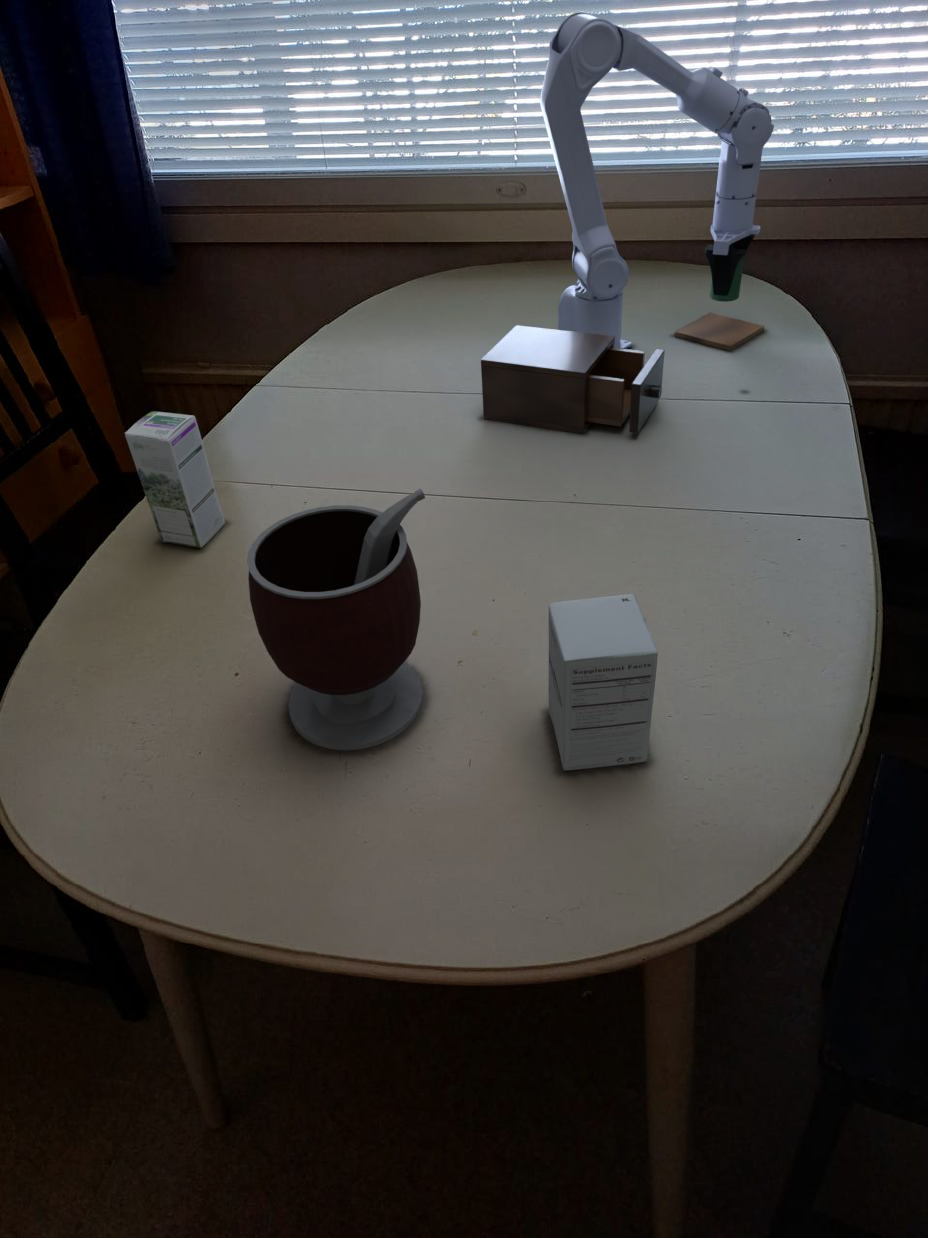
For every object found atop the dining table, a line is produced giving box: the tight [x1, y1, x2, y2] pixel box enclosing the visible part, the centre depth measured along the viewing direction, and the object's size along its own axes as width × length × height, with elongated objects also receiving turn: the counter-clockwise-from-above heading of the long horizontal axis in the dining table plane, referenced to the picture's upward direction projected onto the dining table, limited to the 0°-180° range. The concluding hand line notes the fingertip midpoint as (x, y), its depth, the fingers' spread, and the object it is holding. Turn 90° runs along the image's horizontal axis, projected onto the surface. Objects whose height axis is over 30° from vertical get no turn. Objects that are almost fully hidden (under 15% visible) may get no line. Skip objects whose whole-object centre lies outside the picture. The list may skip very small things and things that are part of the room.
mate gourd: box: [246, 488, 426, 751], centre depth 77 cm, size 16×14×20 cm
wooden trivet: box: [674, 312, 765, 352], centre depth 143 cm, size 10×10×1 cm
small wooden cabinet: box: [480, 324, 615, 435], centre depth 124 cm, size 15×13×9 cm
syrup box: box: [124, 410, 226, 549], centre depth 102 cm, size 6×6×14 cm
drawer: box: [586, 347, 666, 434], centre depth 121 cm, size 15×11×7 cm
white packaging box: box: [548, 593, 659, 771], centre depth 73 cm, size 7×7×13 cm
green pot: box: [709, 248, 748, 303], centre depth 137 cm, size 5×5×6 cm
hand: (724, 288), depth 138 cm, fingers closed on green pot, 5 cm apart
